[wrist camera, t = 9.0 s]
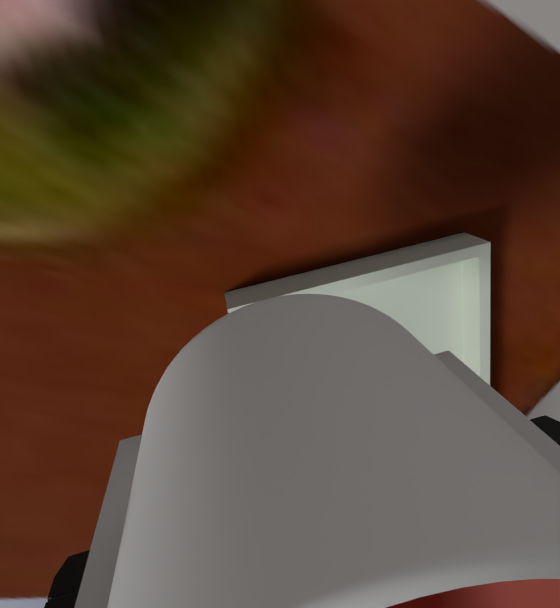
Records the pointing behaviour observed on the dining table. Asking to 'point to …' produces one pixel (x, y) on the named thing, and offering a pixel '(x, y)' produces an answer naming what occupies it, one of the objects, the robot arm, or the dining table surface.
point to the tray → (410, 293)
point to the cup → (331, 475)
